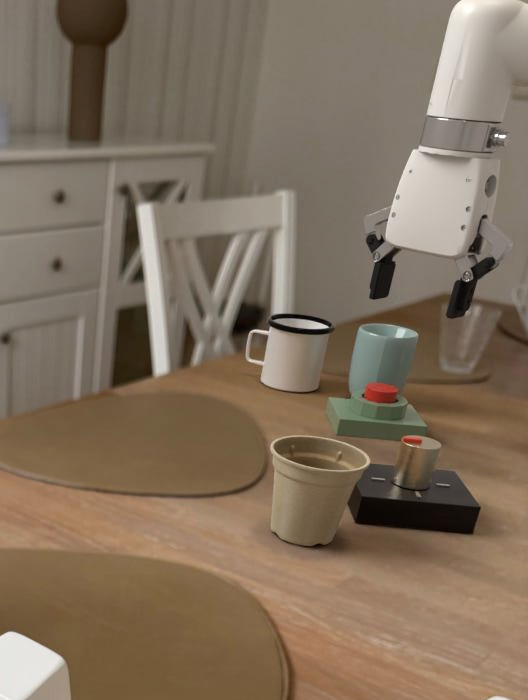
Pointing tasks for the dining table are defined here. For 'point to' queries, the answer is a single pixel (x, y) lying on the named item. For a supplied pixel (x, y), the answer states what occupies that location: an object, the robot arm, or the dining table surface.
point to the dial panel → (413, 502)
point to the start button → (381, 393)
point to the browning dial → (416, 462)
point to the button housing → (374, 418)
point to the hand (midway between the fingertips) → (415, 307)
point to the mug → (293, 351)
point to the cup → (382, 356)
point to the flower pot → (312, 486)
